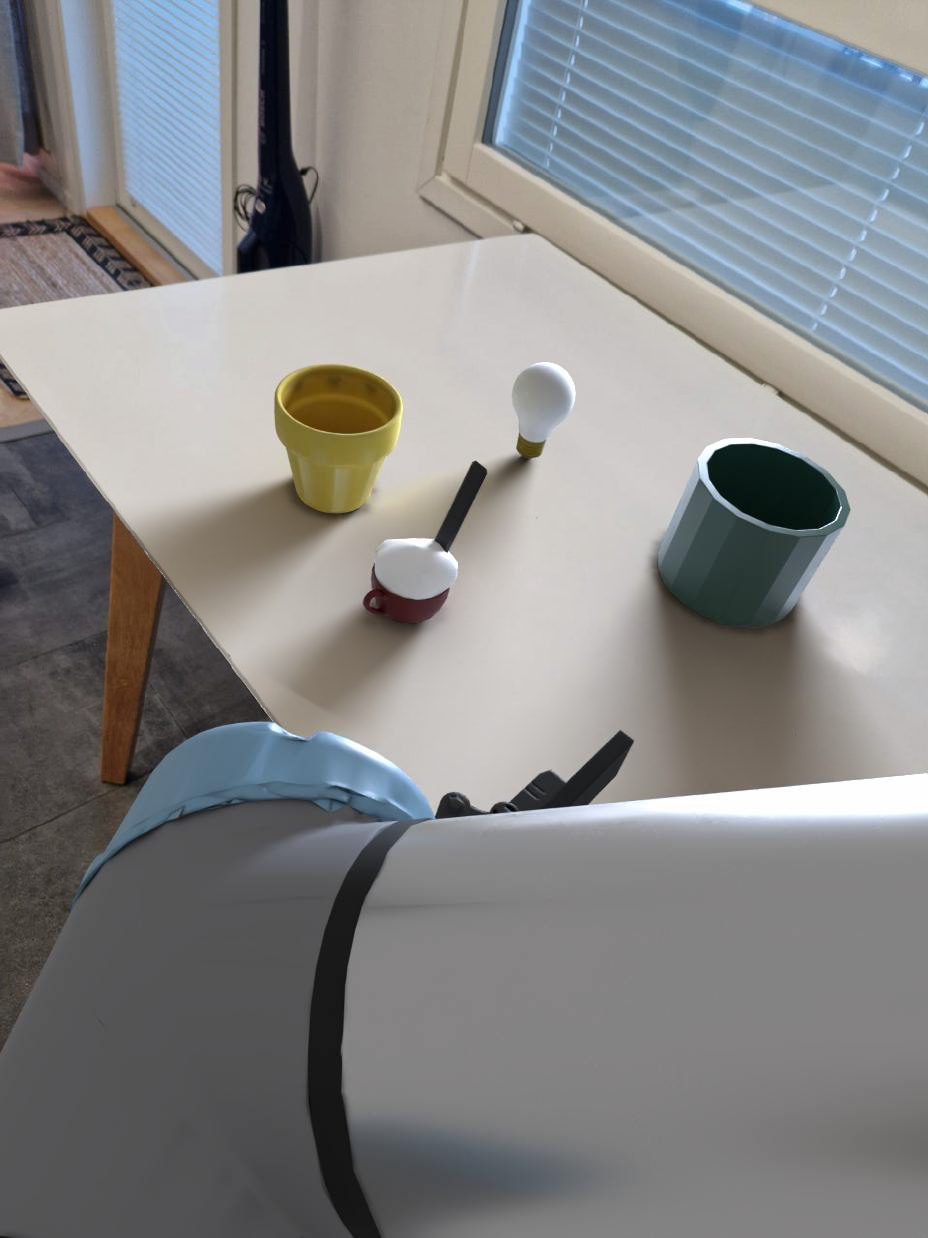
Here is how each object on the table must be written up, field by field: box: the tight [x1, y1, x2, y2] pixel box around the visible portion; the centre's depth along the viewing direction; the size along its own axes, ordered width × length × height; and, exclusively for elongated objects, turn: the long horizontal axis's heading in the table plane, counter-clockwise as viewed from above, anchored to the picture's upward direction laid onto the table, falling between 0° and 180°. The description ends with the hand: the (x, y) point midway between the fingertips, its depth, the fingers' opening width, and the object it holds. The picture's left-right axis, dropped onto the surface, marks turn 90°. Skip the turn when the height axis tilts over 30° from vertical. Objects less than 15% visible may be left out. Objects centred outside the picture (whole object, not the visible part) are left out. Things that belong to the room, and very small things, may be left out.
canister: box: [656, 437, 851, 629], centre depth 74 cm, size 13×13×10 cm
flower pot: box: [273, 363, 404, 514], centre depth 74 cm, size 10×10×10 cm
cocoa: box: [362, 460, 488, 624], centre depth 65 cm, size 10×6×12 cm, turn 109°
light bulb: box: [511, 361, 576, 460], centre depth 82 cm, size 6×6×10 cm
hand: (753, 858), depth 35 cm, fingers open, 13 cm apart
